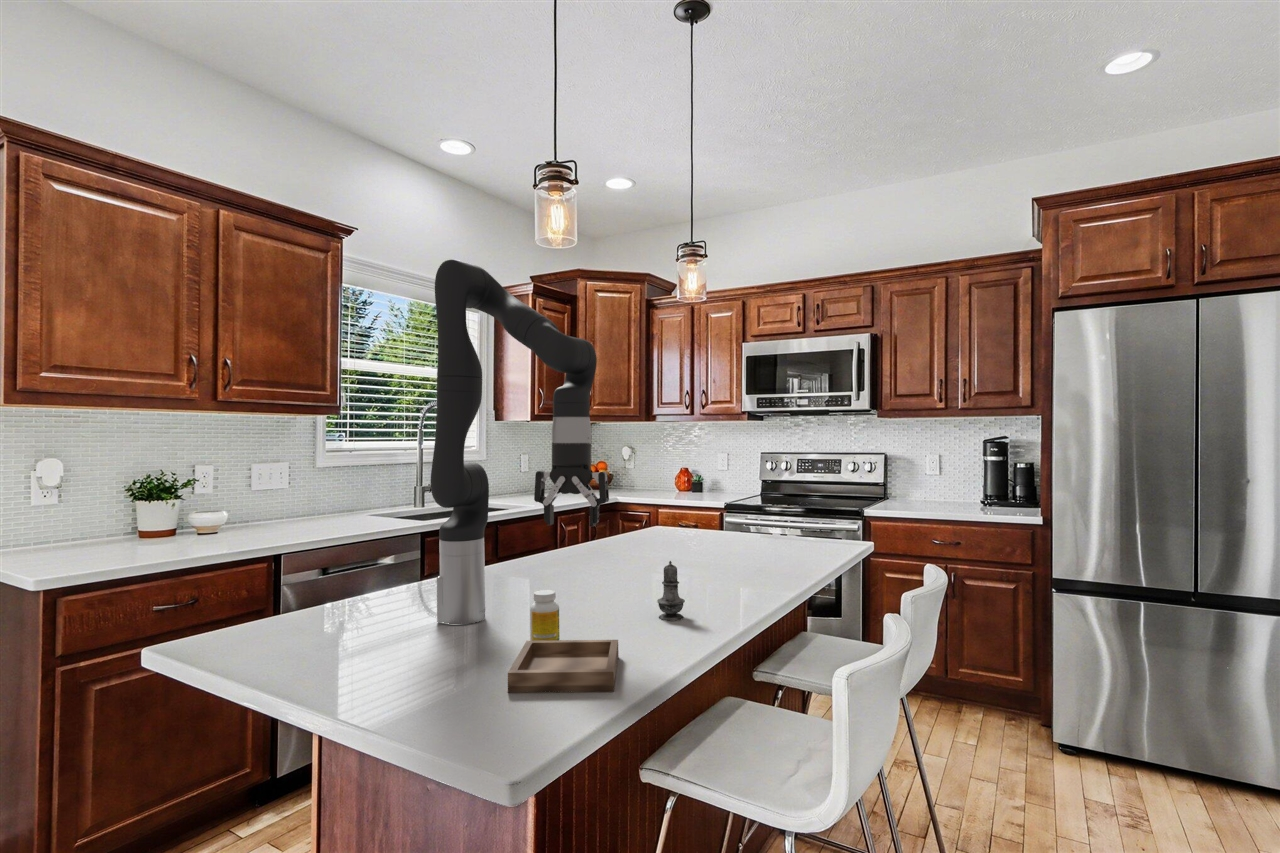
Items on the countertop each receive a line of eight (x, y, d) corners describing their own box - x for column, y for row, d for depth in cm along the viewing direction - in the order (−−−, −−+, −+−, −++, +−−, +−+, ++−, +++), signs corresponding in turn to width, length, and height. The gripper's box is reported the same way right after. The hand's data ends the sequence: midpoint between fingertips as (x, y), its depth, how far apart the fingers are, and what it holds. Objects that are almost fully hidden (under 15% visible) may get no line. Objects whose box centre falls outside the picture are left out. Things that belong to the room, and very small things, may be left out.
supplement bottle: (527, 642, 128) (526, 590, 128) (554, 637, 130) (553, 587, 130) (535, 650, 123) (534, 596, 123) (563, 645, 125) (562, 593, 126)
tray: (507, 692, 103) (507, 672, 103) (526, 657, 119) (526, 640, 119) (613, 691, 103) (613, 671, 103) (618, 656, 119) (618, 639, 119)
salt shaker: (685, 621, 140) (684, 563, 141) (657, 621, 141) (656, 563, 141) (684, 613, 146) (683, 557, 146) (657, 614, 146) (656, 558, 147)
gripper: (529, 441, 129) (529, 527, 128) (602, 441, 126) (602, 529, 126) (542, 440, 136) (542, 521, 136) (612, 440, 133) (612, 523, 133)
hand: (571, 525), depth 131 cm, fingers open, 8 cm apart
